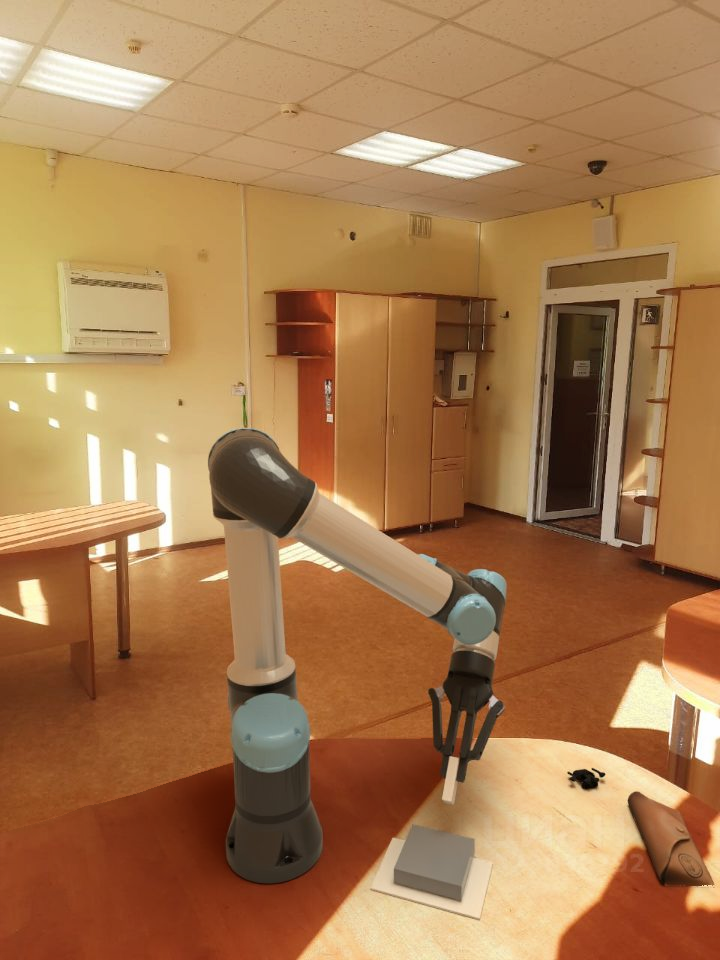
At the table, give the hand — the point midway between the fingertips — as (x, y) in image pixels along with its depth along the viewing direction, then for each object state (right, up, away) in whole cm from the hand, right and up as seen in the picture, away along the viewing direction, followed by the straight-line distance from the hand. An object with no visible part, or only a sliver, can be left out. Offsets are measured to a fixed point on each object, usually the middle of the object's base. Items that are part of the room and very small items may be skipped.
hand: (447, 802), depth 107 cm
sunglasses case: (+35, -8, +2) cm, 36 cm away
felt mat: (-3, -9, -4) cm, 10 cm away
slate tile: (-1, -6, +1) cm, 6 cm away
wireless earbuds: (+27, -5, +18) cm, 33 cm away
